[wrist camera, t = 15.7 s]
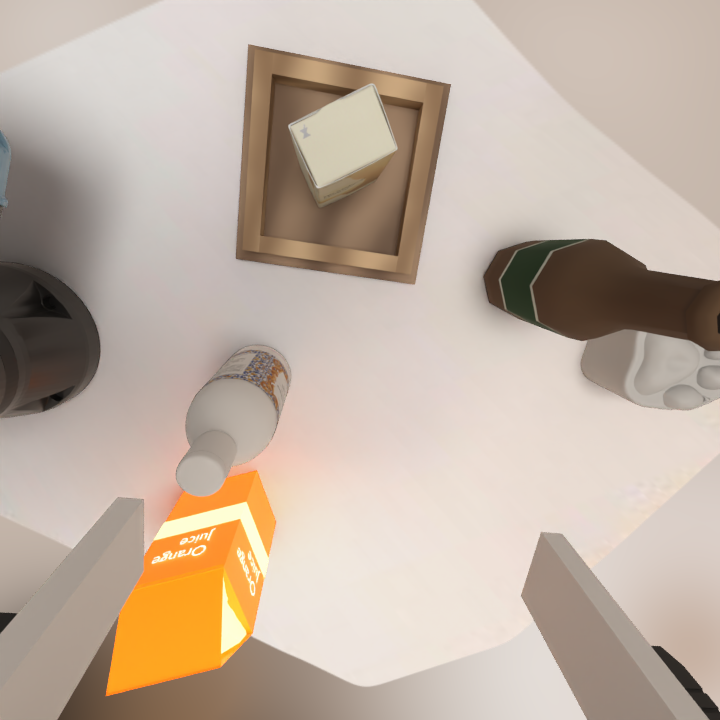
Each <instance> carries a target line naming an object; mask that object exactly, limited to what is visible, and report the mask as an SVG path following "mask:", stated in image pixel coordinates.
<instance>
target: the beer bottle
mask: <svg viewBox="0 0 720 720" xmlns="http://www.w3.org/2000/svg"><path fill="white" fill-rule="evenodd" d="M484 279H485V284H486V288H487V293H488V297H489V302H490V303H491V304H493V305H495V306H496V307H498V308H500V309H502V310H504V311H505V312H507V313H509V314H511V315H513V316H515V317H517V318H519V319H521V320H523V321H526V322H529V323H531V324H534V325H536V326H539V327H542V328H544V329H547V330H549V331H552V332H555V333H557V334H560V335H562V336H565V337H568V338H572V339H576V340H580V341H584V340H590V339H596V338H599V337H602V336H605V335H608V334H612V333H615V332H618V331H621V330H624V329H626V330H636V331H641V332H646V333H652V334H657V335H662V336H667V337H673V338H678V339H683V340H689V341H692V342H693V343H695V344H697V345H699V346H700V347H702V348H704V349H705V350H707V351H720V281H713V280H706V279H700V278H694V277H687V276H681V275H675V274H669V273H662V272H656V271H650V270H647V268H646V265H644V264H643V263H641V262H640V261H638V260H636V259H635V258H633V257H632V256H630V255H628V254H627V253H625V252H624V251H622V250H620V249H619V248H617V247H616V246H614V245H612V244H611V243H609V242H607V241H605V240H595V239H576V240H544V241H530V242H525V243H522V244H518V245H515V246H512V247H509V248H506V249H503V250H500V251H498V253H497V255H496V257H495V258H494V260H493V262H492V263H491V265H490V267H489V269H488V270H487V272H486V274H485V275H484Z"/></svg>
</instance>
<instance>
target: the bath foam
mask: <svg viewBox="0 0 720 720" xmlns="http://www.w3.org/2000/svg"><path fill="white" fill-rule="evenodd" d="M290 381H291V373H290V368H289V366H288V363H287V362H286V360H285V359H284V357H283V356H282V355H281V354H280V353H278V352H277V351H276V350H274V349H272V348H270V347H267V346H261V345H253V346H247V347H245V348H242V349H240V350H239V351H237V352H236V353H235V354H234V355H233V356H232V357H231V358H230V359H229V360H228V361H227V362H226V363H225V364H224V365H223V366H222V367H221V368H220V369H219V371H218V372H217V373H216V374H215V375H214V376H213V377H212V378H211V379H210V380H209V381H208V382H207V383H206V384H205V386H204V387H203V388H202V389H201V390H200V391H199V392H198V393H197V394H196V396H195V397H194V399H193V401H192V403H191V405H190V407H189V410H188V413H187V417H186V435H187V439H188V442H189V444H190V446H191V448H190V449H189V450H188V452H187V453H186V455H185V456H184V457H183V459H182V460H181V462H180V463H179V465H178V467H177V470H176V479H177V482H178V484H179V486H180V487H181V488H182V489H183V490H184V491H185V492H187V493H188V494H190V495H193V496H198V497H205V496H210V495H212V494H214V493H216V492H217V491H218V490H219V489H220V488H221V487H222V485H223V484H224V482H225V480H226V478H227V475H228V473H229V471H230V469H231V467H233V466H238V465H241V464H244V463H246V462H248V461H250V460H252V459H253V458H255V457H256V456H257V455H259V454H260V453H261V452H262V451H263V450H264V449H265V448H266V446H267V445H268V444H269V442H270V440H271V439H272V437H273V435H274V433H275V430H276V427H277V424H278V421H279V418H280V415H281V411H282V408H283V405H284V402H285V399H286V396H287V393H288V389H289V386H290Z"/></svg>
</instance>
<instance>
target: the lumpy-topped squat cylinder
mask: <svg viewBox="0 0 720 720" xmlns="http://www.w3.org/2000/svg"><path fill="white" fill-rule="evenodd" d="M581 370H582V372H583V374H584V375H585V376H586V377H587V378H588V379H589V380H591V381H593V382H594V383H596V384H598V385H600V386H602V387H604V388H606V389H608V390H610V391H612V392H614V393H615V394H617V395H619V396H621V397H623V398H625V399H627V400H629V401H631V402H633V403H635V404H637V405H640V406H643V407H649V408H657V409H667V410H674V409H677V410H692V409H695V408H697V407H700V406H703V405H705V404H708V403H710V402H712V401H714V400H717V399H719V398H720V351H707V350H705V349H704V348H702V347H700V346H699V345H697V344H695V343H693V342H692V341H689V340H683V339H678V338H673V337H667V336H662V335H657V334H652V333H646V332H641V331H636V330H626V329H624V330H621V331H618V332H615V333H612V334H608V335H605V336H602V337H599V338H596V339H590V340H588V342H587V345H586V348H585V350H584V353H583V356H582V359H581Z"/></svg>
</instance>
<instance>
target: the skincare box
mask: <svg viewBox="0 0 720 720" xmlns="http://www.w3.org/2000/svg"><path fill="white" fill-rule="evenodd" d="M288 127H289V131H290V134H291V137H292V141H293V144H294V148H295V151H296V155H297V158H298V161H299V165H300V167H301V170H302V172H303V175H304V177H305V179H306V182H307V184H308V186H309V188H310V191H311V193H312V195H313V197H314V199H315V201H316V203H317V205H318V207H319V208H322V207H324V206H327V205H329V204H331V203H333V202H336V201H338V200H340V199H342V198H344V197H346V196H348V195H351V194H353V193H354V192H356V191H358V190H360V189H362V188H364V187H366V186H368V185H370V184H371V183H373V182H375V181H376V180H377V179H378V177H379V175H380V174H381V173H382V171H383V170H384V168H385V167H386V165H387V164H388V162H389V161H390V160H391V158H392V157H393V155H394V154H395V152H396V151H397V149H398V148H397V144H396V141H395V139H394V135H393V132H392V129H391V126H390V124H389V120H388V118H387V115H386V112H385V110H384V107H383V104H382V101H381V99H380V96H379V93H378V91H377V88H376V86H375V84H372V83H371V84H368V85H366V86H364V87H362V88H360V89H358V90H356V91H354V92H352V93H350V94H348V95H346V96H344V97H342V98H340V99H338V100H336V101H334V102H332V103H330V104H328V105H326V106H324V107H322V108H320V109H318V110H316V111H314V112H312V113H310V114H308V115H307V116H305V117H303V118H301V119H299V120H297V121H295V122H293V123H291V124H289V125H288Z"/></svg>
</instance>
